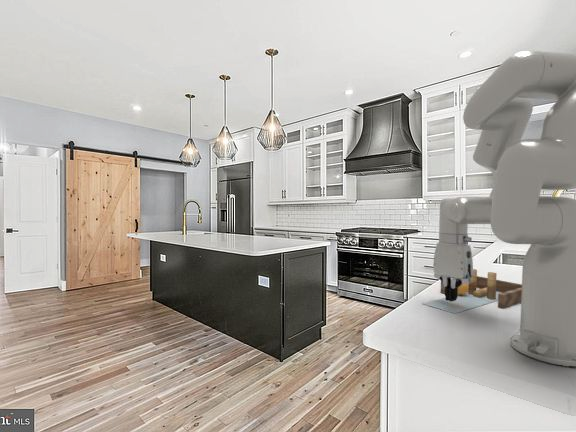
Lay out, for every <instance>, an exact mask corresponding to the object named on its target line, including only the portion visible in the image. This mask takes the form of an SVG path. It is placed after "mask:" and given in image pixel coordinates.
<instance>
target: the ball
mask: <svg viewBox="0 0 576 432" xmlns="http://www.w3.org/2000/svg"><path fill="white" fill-rule="evenodd" d="M461 280H463V279H461ZM468 289H469V285H468V284H462V285H461V286H460V287H458V295H464V294H466V293H467V292H468Z"/></svg>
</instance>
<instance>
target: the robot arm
mask: <svg viewBox="0 0 576 432" xmlns="http://www.w3.org/2000/svg"><path fill="white" fill-rule="evenodd" d="M530 99H535V100H543V99H544V100H553V101H554V100H555V101H556V102H555V103H554V104H553V105H552V106H551V107H550V109H549V111H548V112H547V113H546V115H545V117H544V120H543V124H542V132H541V135H540V139H539V138H528V139H527V138H525V139H522V137H523V135H524V133H525V131H526V128H527V126H528V123H529V121H530V119H531V117H532V115H533V110H534V109H533V108H534V106H533V105H534V104H533V102H532V101H531V100H530ZM462 120H463V124H464V125H465V127H467V128H468V129H470V130H475V131H476V130H477V131H478V130H479V131H480V130H481V133H480V135H479V138H478V142H477V144H476V146H475V148H474V152H473V155H472V160H473V162H475V163H476V164H477V165H479V166H481V167H483V168H485V169H487V170H489V171H490V172H491V174H492V176H493V186H492V189H491V191H490V194H489V196H458V197H455V198H454V197H451V198H450V197H449V198H448V197H447V198H443V199H441V200H440V202H439V221H438V222H439V227H438V229H439V233H438V242H437V243H436V245H435V249H434V255H433V264H432V265H433V266H432V267H433V268H432V269H433V277H434V278H436V279H438V280H440V282H441V281H442V283H443V286H444V287H445V294H444V298H445V300H447V301H448V300H449V301H451V302H452V301H455V300H456V299H457V295H458V287H460V286H461V285H462V284H470V283H471V280H470V278H471V277H472V276H473V269H474V264H473V262H474V259H473V253H472V248H471V245H469V244H468V243H470V242H472V240H473V238H472V237H471V236H469V234H468V225H490V227H491V228H490V229H491V230H492V233H493V235H494V236H495V237H496V238H497V239H498V240H500V242H501V241H502V242H503V243H505V244H511V245H512V244H513V245H529V247H528V249H527V251H526V253H525V255H524V258H523V261H522V271H521V272H522V273H521V284H522V295H521V303H520V323H519V324H520V327H519V328H520V329H519V334H515V335H513V336H511V337H510V346H511V347H512V348H513V349H514V350H516V351H517V352H519V353H521V354H523V355H525V356H527V357H530V358H532V359H535V360H537V361H541V362H544V363H548V364H552V365H556V366H561V365H562V366H563V367H569V366H576V199H574V198H571V197H570V198H569V197H565V196H549V195H548V196H544V195H541V192H542V190H543V191H545V190H546V191H549V190H550V191H561V190H562V191H567V190H569V191H570V190H575V189H576V53H567V52H549V51H542V50H541V51H540V50H523V51H519V52H517V53H516V52H515V53H514V54H512V55H511V56H509V57H507V59H505V60H504V61H503V62H501V64H500V65H499V66H498V67H497V68H496V69H495V70H494V72H492V74H491V75H490V76H489V77H488V78H487V79H486V80H485V81H484V82H483V83H482V84H481V85H480V86H479V87H478V89H476V91H474V93H473V95H472V96H471V97H470V99H469V100H468V102H467V103H466V106H465V108H464V111H463V115H462ZM461 279H463V280H461ZM562 366H561V367H562Z"/></svg>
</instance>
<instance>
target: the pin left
mask: <svg viewBox="0 0 576 432" xmlns="http://www.w3.org/2000/svg"><path fill="white" fill-rule="evenodd" d="M477 276H478V270H477V269H474V268H473V276H472V277H471V278H470V280H471V283H470V284H468V285H469V289H468V291H467V292H468V294H471V295H473V292H474V291H476V290H477V288H476V286H477Z"/></svg>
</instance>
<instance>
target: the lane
mask: <svg viewBox="0 0 576 432" xmlns="http://www.w3.org/2000/svg"><path fill="white" fill-rule="evenodd" d="M479 289H480V288H477V290H479ZM500 293H502V292H497V291H496V299H494V300H493V299H488V298H487V295H486V296H483V297H480V298H478V297H474V296H473V295H471V294H468V291H467V293H466V294H464V295H457V299H456V300H455V301H452V302H451V301H449V300H448V301H447V300H445V298H446V297H443V298H439V299H434V300H431V301H426V302H423V303H421V304H422V305H424V304H425V305H424V306H427V305H428V306H427V307H430V306H431V307H430V308H433V309H437V310H440V309H441V310H440V311H444V312H447V313H450V314H459V313H461V312H465V311H468V310H471V309H474V308H478V307H481V306H485V305H488V304H492V303H495V302H498V294H500Z"/></svg>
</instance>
